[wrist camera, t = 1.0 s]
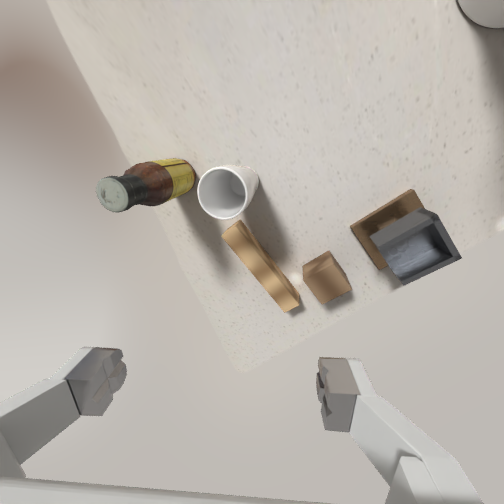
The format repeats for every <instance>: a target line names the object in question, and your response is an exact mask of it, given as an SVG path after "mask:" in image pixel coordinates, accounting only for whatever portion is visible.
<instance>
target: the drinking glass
mask: <svg viewBox="0 0 504 504" xmlns="http://www.w3.org/2000/svg"><path fill="white" fill-rule="evenodd" d="M258 185H259V179H258V175H257V173H256V172H255V171H254V170H253V169H252V168H250V167H248V166H237V165H222V166H218V167H215V168H212V169H210V170H208V171H207V172H206V173H205V174H204V175H203V176H202V177H201V179H200V181H199V184H198V188H197V195H198V200H199V202H200V205H201V206H202V208H203V209H204V211H205V212H206V213H208V214H209V215H210V216H212V217H214V218H216V219H220V220H229V219H233V218H235V217H237V216H238V215H240V214H241V213H242V212H243V211H244V210H245V209H246V208H247V207H248V205H249V204H250V202H251V200H252V198H253V196H254V193H255V191H256V190H257V188H258Z"/></svg>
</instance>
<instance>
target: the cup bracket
mask: <svg viewBox="0 0 504 504" xmlns="http://www.w3.org/2000/svg"><path fill="white" fill-rule="evenodd" d="M350 227H351V229H352V230H353V232H354V233H355V235H356V236H357V238H358V239H359V241H360V242H361V244H362V245H363V247H364V248H365V250H366V251H367V253H368V254H369V256H370V257H371V259H372V260H373V261H374V263H375V264H376V266H377V267H378V269H379V270H380V269H382V268H384V267H386V266H389V267H390V269H391V270H392V272H393V273H394V274H395V275H396V277H397V278H398V279H399V280H400V282H401V283H402V284H403V285H406V284H408V283H410V282H413V281H415V280H417V279H419V278H421V277H423V276H425V275H427V274H430V273H431V272H434V271H436V270H438V269H440V268H442V267H444V266H446V265H449V264H451V263H453V262H455V261H457V260H459V259H461V258H462V257H461V256H460V254H459V252H458V250H457V249H456V247H455V245H454V243H453V241H452V240H451V238H450V236H449V234H448V233H447V231H446V229H445V227H444V226H443V224H442V222H441V220H440V219H439V217H438V215H437V214H435V213H433V212H431V211H428V210H426V209H425V208H424V206H423V205H422V203H421V201H420V199H419V198H418V196H417V194H416V192H415V191H414V190H412V189H410V190H408V191H407V192H405V193H403V194H402V195H400V196H398V197H397V198H395V199H394V200H392V201H390V202H389V203H387V204H385V205H384V206H382V207H380V208H379V209H377V210H376V211H374V212H372V213H371V214H369V215H367V216H366V217H364V218H362V219H361V220H359V221H358V222H356V223H354V224H353V225H351V226H350Z"/></svg>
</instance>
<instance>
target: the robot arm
mask: <svg viewBox="0 0 504 504" xmlns="http://www.w3.org/2000/svg"><path fill="white" fill-rule="evenodd" d="M458 2H459V4H460V6H461V8H462V10H463V11H464V13H465V14H466V15H467V16H468V17H469V18H470V19H471V20H472V21H474V22H475V23H477V24H479V25H482V26H485V27H490V28H504V0H458ZM122 357H123V354H122V351H121V350H120V349H113V348H99V347H83V348H81V349H79V350H78V351H77V352H76V353H75V354H74V355H73V356H72V357H71V358H70V359H69V360H68V361H67V362H66V363H65V364H64V365H63V366H62V367H61V368H60V369H59V370H58V371H57V372H56V373H55V374H54V375H53V376H52V377H51V378H50V379H44V380H42V381H40V382H38V383H36V384H35V385H33V386H31V387H29V388H27V389H25V390H23V391H21V392H19V393H17V394H15V395H14V396H12V397H10V398H8V399H6V400H4V401H2V402H0V504H330V503H318V502H306V501H305V502H304V501H294V500H282V499H269V498H258V497H246V496H233V495H222V494H210V493H197V492H186V491H174V490H162V489H150V488H138V487H125V486H113V485H101V484H89V483H77V482H65V481H52V480H41V479H28V478H25V477H26V476H25V473H24V471H23V469H22V468H21V466H20V465H21V464H22V463H23V462H24V461H26V460H27V459H28V458H29V457H31V456H32V455H33V454H34V453H35V452H37V451H38V450H39V449H41V448H42V447H43V446H44V445H46V444H47V443H48V442H49V441H51V440H52V439H53V438H54V437H56V436H57V435H58V434H59V433H60V432H62V431H63V430H64V429H66V428H67V427H68V426H69V425H71V424H72V423H73V422H74V421H75V420H77V419H78V418H79V417H80V415H84V416H102V415H103V413H104V412H105V411H106V409H107V408H108V406H109V404H110V403H111V402H112V400H113V393H115V392H116V391H118V390H119V389H120V388H121V386H122V385H123V383H124V381H125V378H126V372H127V371H126V365H125V363H124V362H122V361H121V359H122ZM318 367H319V372H318V373H317V381H316V384H317V394H318V399H319V401H320V402H321V403H322V408H321V414H322V418H323V423H324V428H325V430H330V431H340V432H341V431H342V432H350V433H349V434H350V435H351V437H352V438H353V439H354V440H355V442H356V443H357V444H358V446H359V447H360V448H361V449H362V451H363V452H364V453H365V455H366V456H367V457H368V458H369V460H370V461H371V462H372V464H373V465H374V466H375V468H376V469H377V470H378V472H379V473H380V474H381V475H382V477H383V478H384V479H385V481H386V482H387V483H388V485H389V486H390V490H389V493H388V496H387V499H386V503H385V504H484V503H483V502H482V500H481V498H480V497H479V495H478V494H477V492H476V490H475V489H474V487H473V486H472V484H471V482H470V481H469V479H468V478H467V476H466V474H465V473H464V471H463V470H462V468H461V467H460V465H459V463H458V462H457V460H456V459H455V458H454V457H453V456H451V455H450V454H449V453H448V452H447V451H445V450H444V449H443V448H442V447H441V446H440V445H439V444H437V443H436V442H435V441H434V440H433V439H432V438H430V437H429V436H428V435H427V434H425V433H424V432H423V431H422V430H421V429H420V428H418V427H417V426H416V425H415V424H414V423H413V422H411V421H410V420H409V419H408V418H407V417H405V416H404V415H403V414H402V413H401V412H400V411H398V410H397V409H396V408H395V407H394V406H392V405H391V404H390V403H389V402H387V401H386V400H385V399H384V398H383V397H380V396H377V394H376V392H375V390H374V388H373V385H372V383H371V381H370V379H369V377H368V375H367V373H366V370H365V368H364V366H363V364H362V362H361V360H360V359H359V358H327V357H320V358H319V360H318Z"/></svg>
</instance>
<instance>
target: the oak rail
mask: <svg viewBox="0 0 504 504" xmlns="http://www.w3.org/2000/svg"><path fill="white" fill-rule="evenodd" d="M222 238H223V239H224V240H225V241H226V243H227V244H228V245H229V246H230V247H231V249H232V250H233V251H234V252H235V253H236V255H237V256H238V257H239V258H240V259H241V261H242V262H243V263H244V264H245V265H246V267H247V268H248V269H249V270H250V271H251V273H252V274H253V275H254V276H255V278H256V279H257V280H258V281H259V282H260V284H261V285H262V286H263V287H264V288H265V290H266V291H267V292H268V293H269V294H270V296H271V297H272V298H273V299H274V300H275V302H276V303H277V304H278V305H279V306H280V308H281V309H282V310H283V311H284V313H285V312H287V311H289V310H291V309H293V308H295V307H297V306H298V305H299V293H298V292H297V290H296V289H295V288H294V286H293V285H292V284H291V283H290V281H289V280H288V279H287V278H286V276H285V275H284V274H283V273H282V271H281V270H280V269H279V268H278V266H277V265H276V264H275V262H274V261H273V260H272V259H271V257H270V256H269V255H268V254H267V252H266V251H265V250H264V249H263V247H262V246H261V245H260V244H259V242H258V241H257V240H256V238H255V237H254V236H253V235H252V233H251V232H250V231H249V230H248V228H247V227H246V226H245V225H244V223H243V222H242V221H241V220H239V221H237V222H236V223H235V224H233V225H232V226H231V227H230V228H228V229H227V230H226V231H225V232H224V233H223V235H222Z"/></svg>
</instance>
